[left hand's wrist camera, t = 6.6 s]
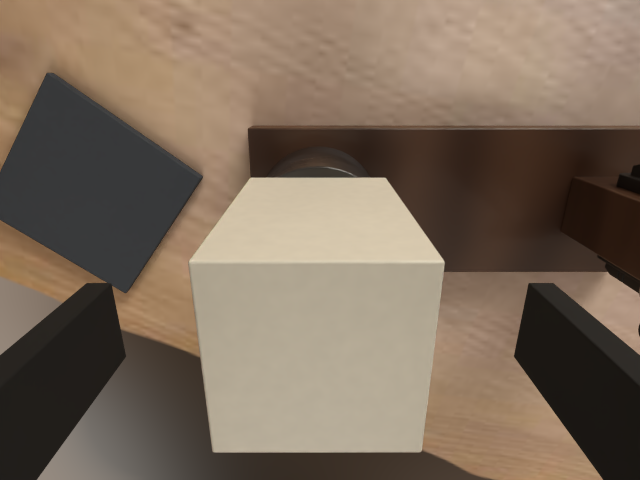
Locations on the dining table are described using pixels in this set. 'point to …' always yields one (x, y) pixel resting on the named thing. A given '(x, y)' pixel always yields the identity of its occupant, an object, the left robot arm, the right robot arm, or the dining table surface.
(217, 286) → the cream rectangular block
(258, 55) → the dining table surface
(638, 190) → the right robot arm
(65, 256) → the coaster
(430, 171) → the stand
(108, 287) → the left robot arm
